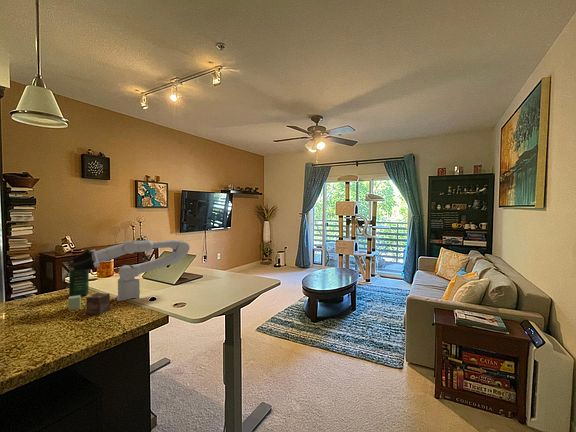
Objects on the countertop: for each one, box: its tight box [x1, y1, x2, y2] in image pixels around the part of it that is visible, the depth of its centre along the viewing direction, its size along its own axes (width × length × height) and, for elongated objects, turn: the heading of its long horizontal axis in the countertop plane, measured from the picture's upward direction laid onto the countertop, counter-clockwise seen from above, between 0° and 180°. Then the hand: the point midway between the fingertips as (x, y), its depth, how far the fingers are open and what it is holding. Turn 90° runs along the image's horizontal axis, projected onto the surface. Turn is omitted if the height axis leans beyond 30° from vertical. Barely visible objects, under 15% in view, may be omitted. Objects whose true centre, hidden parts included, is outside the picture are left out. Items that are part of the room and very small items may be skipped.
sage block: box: [67, 295, 82, 311], centre depth 120 cm, size 4×4×5 cm
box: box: [85, 292, 111, 316], centre depth 116 cm, size 6×6×7 cm
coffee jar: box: [68, 259, 90, 297], centre depth 139 cm, size 10×8×19 cm
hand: (73, 264), depth 122 cm, fingers open, 7 cm apart
